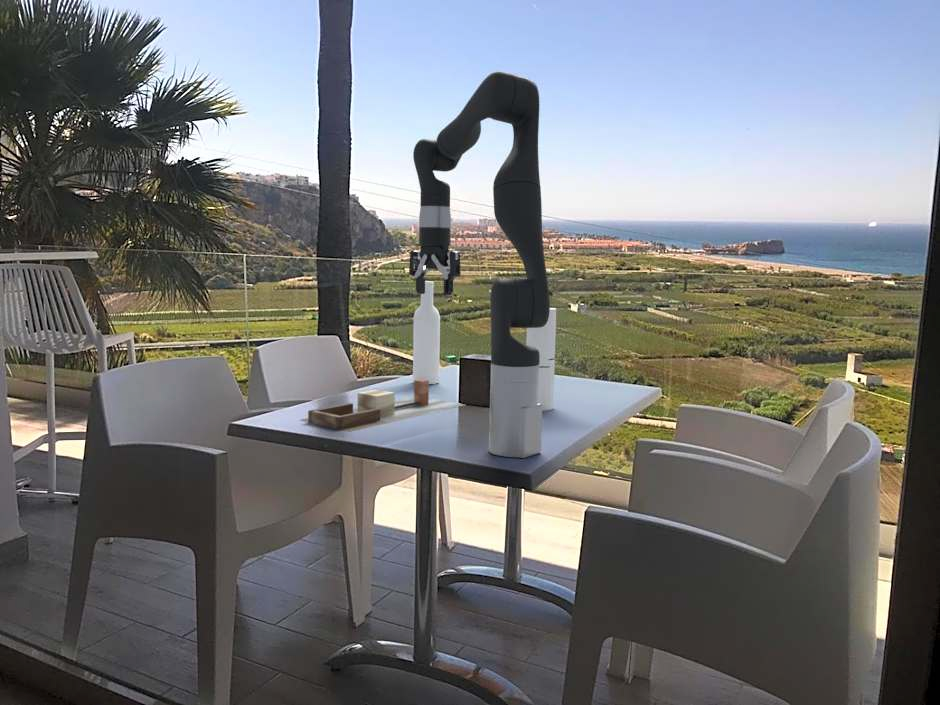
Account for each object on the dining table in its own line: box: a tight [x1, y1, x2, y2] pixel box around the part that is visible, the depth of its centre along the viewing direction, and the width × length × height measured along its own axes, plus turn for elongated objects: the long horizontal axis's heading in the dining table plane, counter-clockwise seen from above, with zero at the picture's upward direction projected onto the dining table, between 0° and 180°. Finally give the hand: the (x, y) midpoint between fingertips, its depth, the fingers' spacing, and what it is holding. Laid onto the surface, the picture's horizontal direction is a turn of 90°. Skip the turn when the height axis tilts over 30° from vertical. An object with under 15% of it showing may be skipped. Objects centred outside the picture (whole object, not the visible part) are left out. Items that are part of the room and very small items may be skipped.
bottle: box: [412, 280, 441, 385], centre depth 219 cm, size 8×8×30 cm
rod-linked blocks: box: [357, 379, 430, 417], centre depth 177 cm, size 6×20×6 cm, turn 142°
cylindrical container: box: [525, 307, 557, 412], centre depth 186 cm, size 7×7×25 cm
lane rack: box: [300, 396, 467, 432], centre depth 175 cm, size 16×39×3 cm, turn 142°
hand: (434, 294), depth 179 cm, fingers open, 8 cm apart
